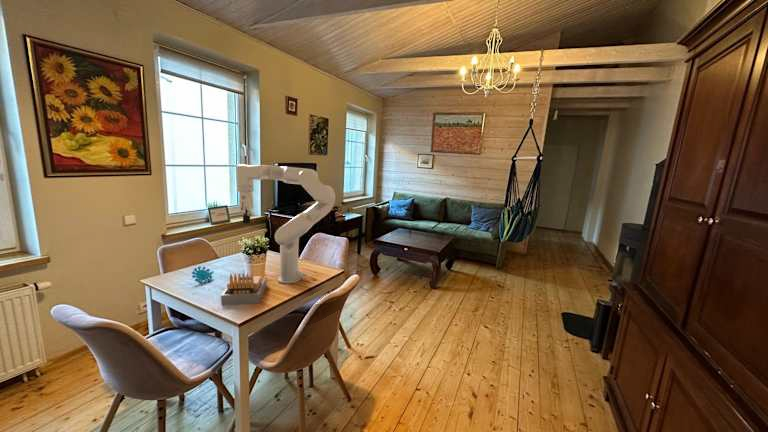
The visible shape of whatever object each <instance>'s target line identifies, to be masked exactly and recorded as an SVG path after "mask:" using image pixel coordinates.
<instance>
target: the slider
mask: <svg viewBox="0 0 768 432" xmlns="http://www.w3.org/2000/svg"><path fill="white" fill-rule="evenodd" d="M240 276H241V282H242V275H240ZM250 276H251V275H249V281H250ZM232 277H233V285H234V276H232ZM253 281H254V291H255V293H257V292H258V290H259V288H260V285H261V283H262V276H261V275H255V276H254V275H253ZM245 282H246V275H245ZM229 283H230V280H229V281H228V282H227V285H226V288H227V292H228V294H229V289H230V285H229ZM237 283H238V276H237Z"/></svg>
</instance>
